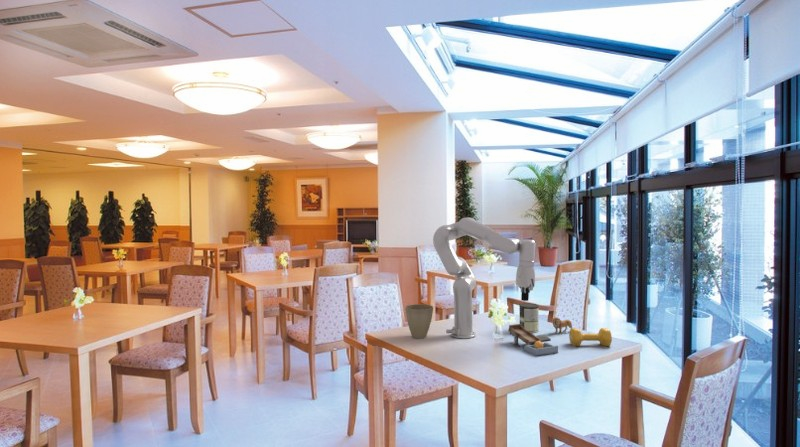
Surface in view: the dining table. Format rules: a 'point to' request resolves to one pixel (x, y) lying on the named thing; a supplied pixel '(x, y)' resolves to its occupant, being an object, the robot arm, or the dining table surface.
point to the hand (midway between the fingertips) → (524, 300)
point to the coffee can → (529, 317)
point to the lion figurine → (561, 324)
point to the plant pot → (419, 319)
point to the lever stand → (517, 341)
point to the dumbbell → (590, 337)
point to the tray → (542, 349)
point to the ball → (538, 344)
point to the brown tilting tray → (526, 334)
